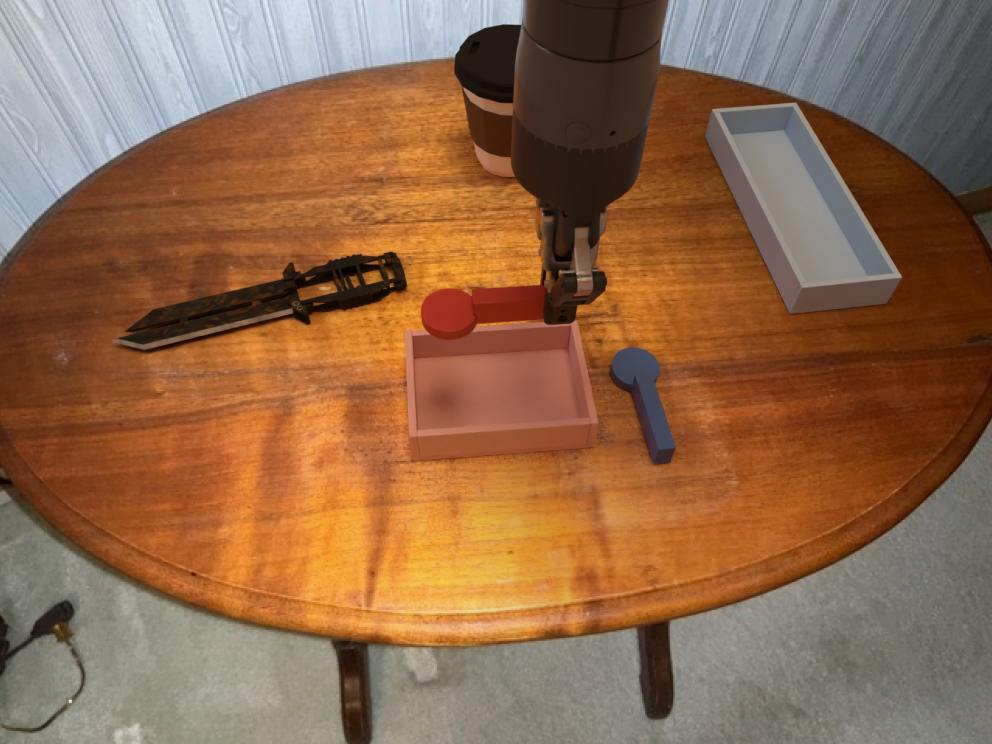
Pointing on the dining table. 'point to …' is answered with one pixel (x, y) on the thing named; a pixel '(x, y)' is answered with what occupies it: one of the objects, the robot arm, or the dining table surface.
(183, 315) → the knife
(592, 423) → the rose bin
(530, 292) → the red spoon
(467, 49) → the coffee cup
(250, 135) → the dining table surface
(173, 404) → the dining table surface
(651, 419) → the blue spoon
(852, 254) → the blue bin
